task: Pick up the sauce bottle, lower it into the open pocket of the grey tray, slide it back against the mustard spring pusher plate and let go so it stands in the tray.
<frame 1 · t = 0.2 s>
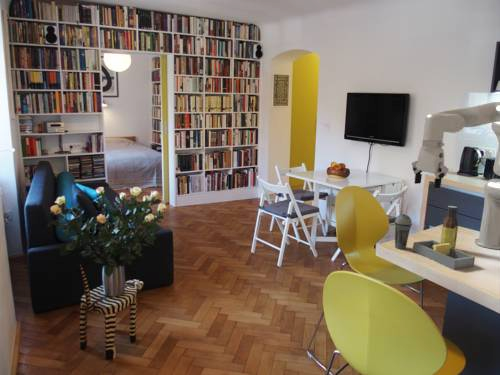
hand: (427, 185, 171), 31 cm above the table, tool pointing down, fingers open, 9 cm apart
beverage cup: (400, 248, 185), on the table
sauce bottle: (447, 249, 186), on the table
pusher: (437, 248, 176), point 4 cm above the table, slide at 0.0 cm
grey tray: (441, 258, 174), on the table
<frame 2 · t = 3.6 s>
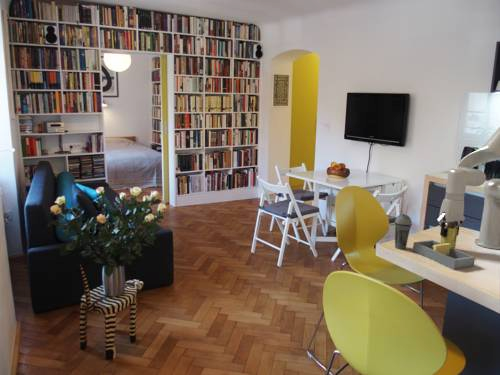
hand: (449, 235, 184), 7 cm above the table, tool pointing down, fingers closed on sauce bottle, 6 cm apart
sauce bottle: (447, 249, 186), on the table, touching gripper
everything else where it was.
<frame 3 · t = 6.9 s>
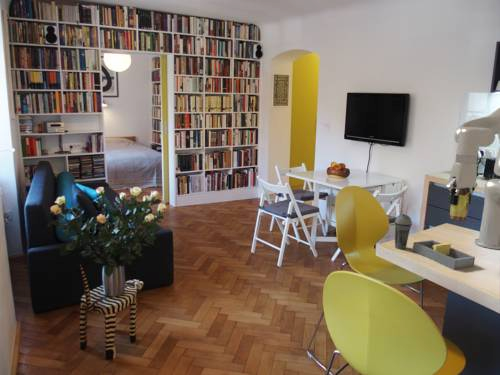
hand: (459, 203, 164), 25 cm above the table, tool pointing down, fingers closed on sauce bottle, 6 cm apart
sauce bottle: (457, 219, 166), point 18 cm above the table, touching gripper
everything else where it was.
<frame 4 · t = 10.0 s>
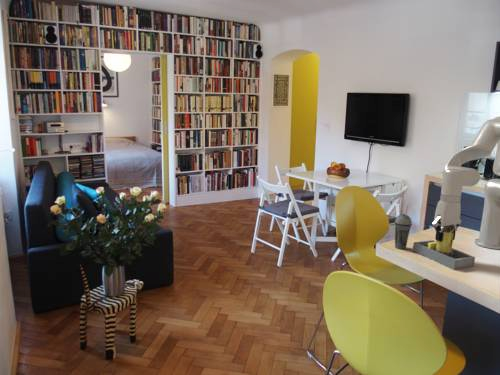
hand: (444, 239, 172), 8 cm above the table, tool pointing down, fingers closed on sauce bottle, 6 cm apart
sauce bottle: (442, 254, 174), point 2 cm above the table, touching gripper, pusher
pusher: (432, 245, 178), point 4 cm above the table, slide at 3.0 cm, touching sauce bottle
everything else where it was.
when the fingers open (8 cm above the table, at t = 10.4 s): sauce bottle stays where it is, resting on grey tray.
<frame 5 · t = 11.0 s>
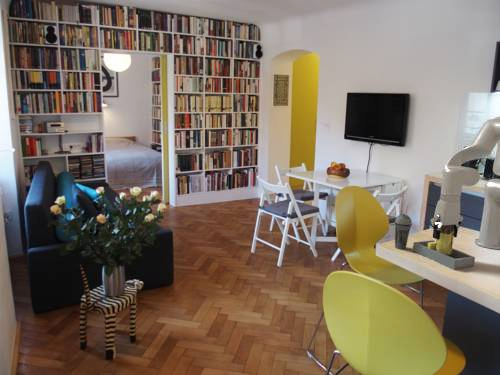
hand: (444, 237, 172), 9 cm above the table, tool pointing down, fingers open, 9 cm apart
sauce bottle: (442, 256, 174), point 1 cm above the table, touching grey tray
pusher: (432, 245, 178), point 4 cm above the table, slide at 3.1 cm
everything else where it was.
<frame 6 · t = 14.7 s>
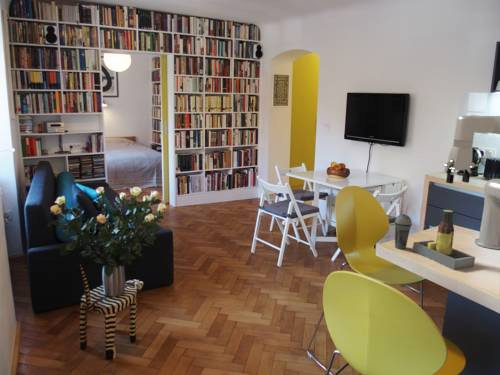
hand: (457, 182, 183), 30 cm above the table, tool pointing down, fingers open, 9 cm apart
nothing on the table moved.
at the end: sauce bottle inside the target area (4.0 cm from its centre), point 0.8 cm above the table; sauce bottle tilted 0°; the gripper is holding nothing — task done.
